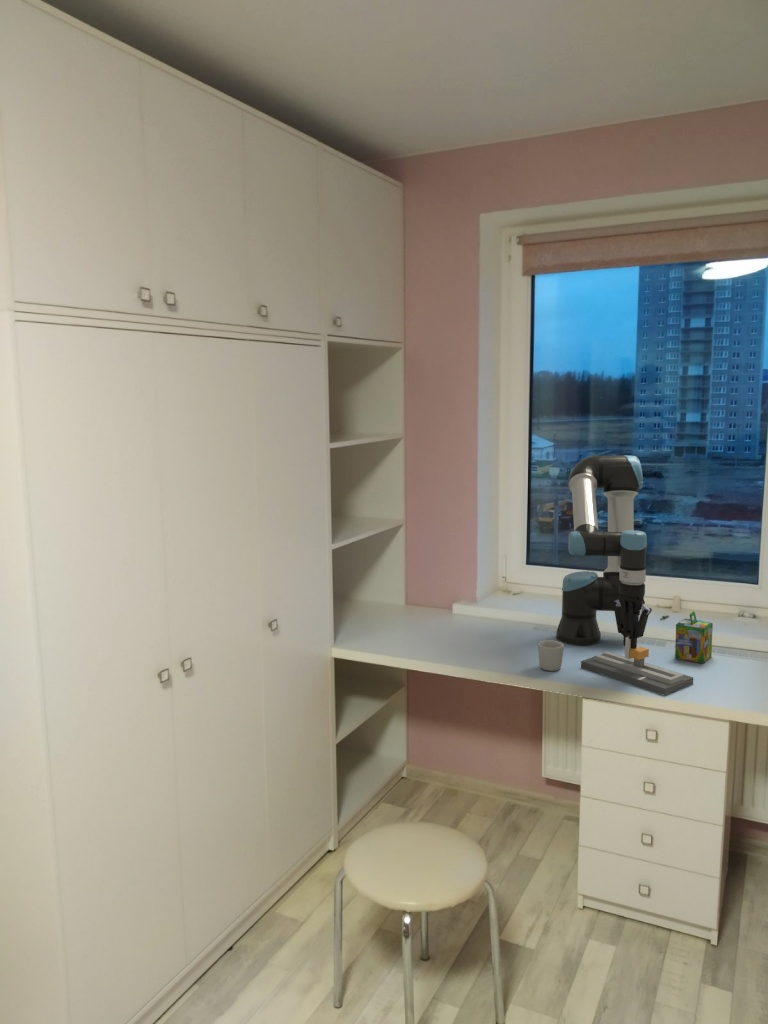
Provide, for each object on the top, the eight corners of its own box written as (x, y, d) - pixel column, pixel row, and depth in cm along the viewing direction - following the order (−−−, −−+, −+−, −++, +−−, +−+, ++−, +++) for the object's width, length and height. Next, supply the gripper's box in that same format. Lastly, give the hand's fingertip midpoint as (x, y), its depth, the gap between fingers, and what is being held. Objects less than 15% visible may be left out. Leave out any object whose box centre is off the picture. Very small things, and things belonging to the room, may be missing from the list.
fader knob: (629, 670, 239) (630, 649, 238) (639, 666, 242) (640, 646, 241) (638, 672, 237) (638, 652, 236) (648, 669, 240) (648, 648, 239)
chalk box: (703, 664, 250) (705, 618, 247) (673, 658, 255) (675, 614, 253) (712, 656, 257) (714, 612, 254) (683, 651, 262) (685, 607, 260)
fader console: (580, 667, 249) (581, 656, 248) (608, 657, 257) (609, 647, 256) (665, 695, 225) (665, 683, 224) (693, 683, 233) (693, 672, 233)
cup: (541, 660, 256) (541, 636, 255) (566, 662, 253) (567, 638, 252) (535, 671, 246) (535, 646, 245) (561, 674, 243) (561, 649, 242)
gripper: (606, 580, 241) (604, 654, 245) (642, 588, 231) (640, 665, 234) (621, 576, 246) (619, 650, 249) (658, 584, 235) (655, 660, 239)
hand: (629, 657), depth 242 cm, fingers closed
